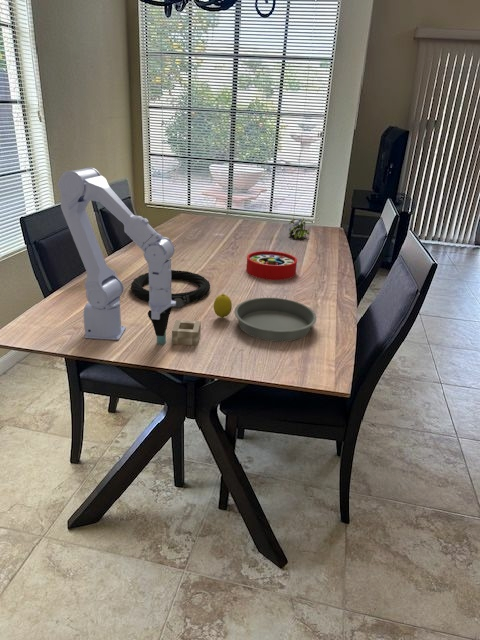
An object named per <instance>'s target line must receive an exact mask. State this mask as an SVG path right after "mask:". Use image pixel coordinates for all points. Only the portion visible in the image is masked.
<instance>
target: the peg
mask: <svg viewBox="0 0 480 640" xmlns="http://www.w3.org/2000/svg"><path fill="white" fill-rule="evenodd" d="M164 312H165V311H164ZM166 332H167V329H165V334H164V336H156V343H157V345H166V343H167V338H166V335H167V333H166Z"/></svg>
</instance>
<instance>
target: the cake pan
mask: <svg viewBox="0 0 480 640" xmlns="http://www.w3.org/2000/svg"><path fill="white" fill-rule="evenodd" d="M234 316H235V317H236V319H237V320H238V323H239V327H240V329H241V330H242V331H243V332H244V333H246V334H248V335H249V336H252V337H254V338H256V339H260V340H264V341H270V342H271V341H272V342H290V341H295V340H296V341H297V340H299V339H302V338H304V337H305V336H307V335H308V334H309V332H310V330H311V328H312V327H313V326H314V325H315V323H316V322H317V315H316V313H315V311H314V310H313V309H312V308H310V307H308V306H307V305H305V304H303V303H301V302H298V301H294V300H291V299H287V298H282V297H281V298H280V297H257V298H252V299H251V298H250V299H247V300H244V301H243V302H241V303H238V304H237V306H235V308H234Z"/></svg>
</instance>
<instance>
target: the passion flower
mask: <svg viewBox="0 0 480 640" xmlns="http://www.w3.org/2000/svg"><path fill="white" fill-rule="evenodd" d="M294 221H296V218H294V219H291V220H290V222H289V223H288V225H291V224H292V226H290V227H289V228H288V231H289V233H288V235H289V236H290V237H291V236H293V235H294V239H295V240H297V237H298V239H300V238H303V237H305V238H306V234H307V235H310V232H309V231H310V228H308V229H306V221H305V218H302V219H299V220H298V221H296V222H294Z"/></svg>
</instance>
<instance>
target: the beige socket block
mask: <svg viewBox="0 0 480 640" xmlns="http://www.w3.org/2000/svg"><path fill="white" fill-rule="evenodd" d="M201 325H202V323H201V320H200V321H197V320H181V319H175V322H174V324H173V327H172V328H171V345H179V346H180V345H183V346H184V345H185V346H198V345H199V343H200V338H201Z"/></svg>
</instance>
